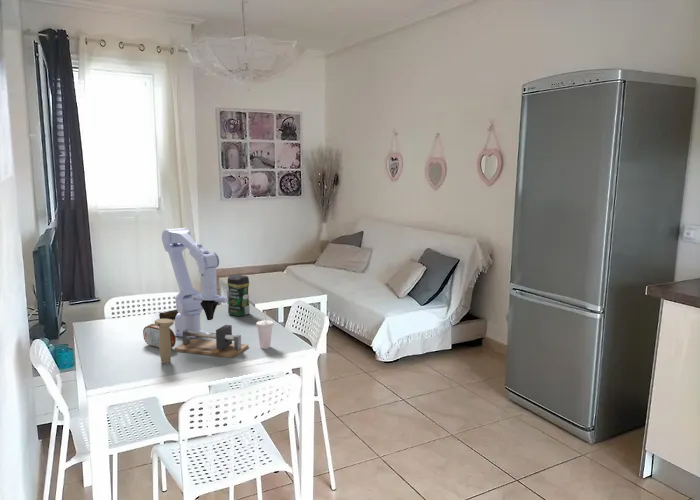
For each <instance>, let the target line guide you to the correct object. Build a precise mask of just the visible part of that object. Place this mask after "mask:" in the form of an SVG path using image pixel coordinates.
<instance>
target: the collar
mask: <svg viewBox="0 0 700 500" xmlns="http://www.w3.org/2000/svg"><path fill="white" fill-rule="evenodd" d="M232 330H233V328H232V324H224V325H222V326H221V327H218V329H216V330H215V333H216V339H215V341H216V347H217V349H220V350H223V349H225V348H226V347H228V346H229V345H231V344H232V343H233V341H231V340H225V334H226V335H233V331H232Z"/></svg>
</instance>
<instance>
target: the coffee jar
mask: <svg viewBox="0 0 700 500" xmlns="http://www.w3.org/2000/svg"><path fill="white" fill-rule="evenodd" d="M249 286H250V278H249V276H247V275H242V274H235V273H234V274H231V275H228V277H227V288H228V304H227V305H228V306H227V307H228V308H227V311H228V312H227V313H228V314H229V315H231V316H235V317H244V316H245V317H246V316H248V315H249V314H250V313H251V312H250V311H251V310H250V301H249V300H250V299H249V298H250V297H249Z"/></svg>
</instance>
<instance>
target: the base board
mask: <svg viewBox="0 0 700 500" xmlns="http://www.w3.org/2000/svg"><path fill="white" fill-rule="evenodd" d="M246 349H249V344H245V343H241V349H240V350H238V351H236V350H234V342H232V344H231V345H229V346H228V347H226V348H225V349H223V350H220V349H217V347H216V340H210V339H209V340H208V339H198V338H190V343H189V344H187V345H183V343H181V344H180V345H179V346H176V347H175V348H174V352H179V353H180V352H181V353H187V354H196V355H197V354H198V355H205V356H213V357H214V356H215V357H222V358H231V359H234V358H235V357H236V356H238V355H239V354H241V353H242V352H244V351H245V350H246Z"/></svg>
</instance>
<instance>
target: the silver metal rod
mask: <svg viewBox="0 0 700 500" xmlns="http://www.w3.org/2000/svg"><path fill="white" fill-rule="evenodd" d="M190 336H194V337H195V338H204V339H213V340H214V339H215V340H216V332H215V333H214V332H206V331H205V332H198V331H190V330H187V329H186V330H184V331H183V337H182V344H183V345H187V344H189V343H190V340H191V337H190ZM225 340H231V341H232V342H233V343H234V350H236V351H238V350H240V349H241V344H242V335H241V334H236V335H234V334H232V335H226V334H225Z"/></svg>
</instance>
